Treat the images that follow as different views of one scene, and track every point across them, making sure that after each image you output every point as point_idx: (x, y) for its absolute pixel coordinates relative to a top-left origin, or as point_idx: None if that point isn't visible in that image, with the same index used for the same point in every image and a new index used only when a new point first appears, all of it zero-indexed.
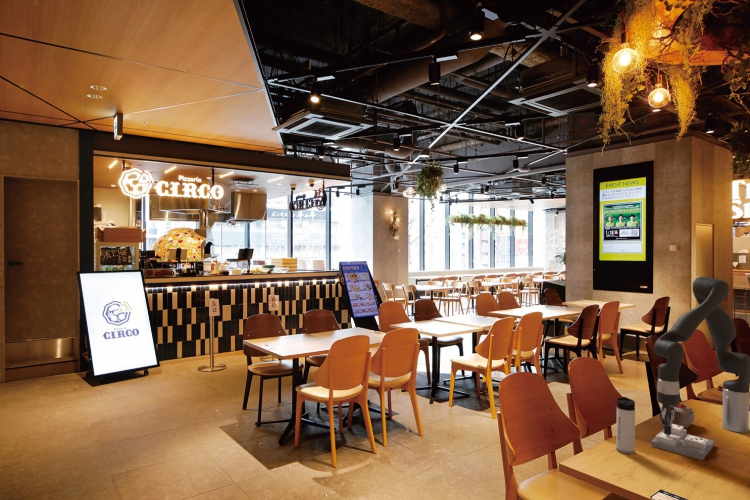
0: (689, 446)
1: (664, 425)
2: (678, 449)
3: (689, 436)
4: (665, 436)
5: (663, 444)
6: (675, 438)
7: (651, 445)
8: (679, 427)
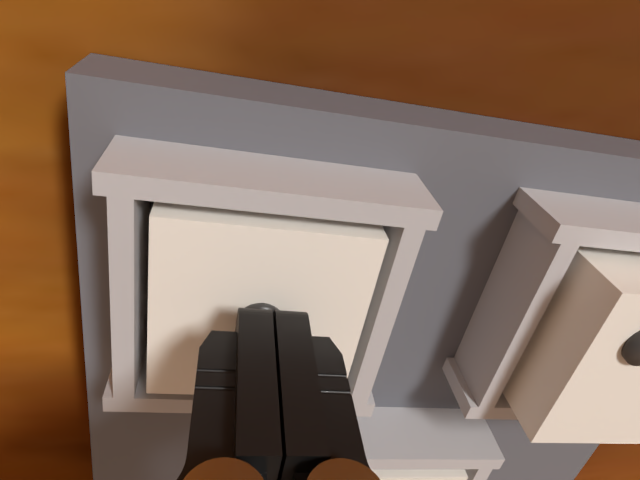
0: None
1: (237, 447)
2: (89, 380)
3: (426, 478)
4: (214, 302)
5: (78, 246)
6: None
7: (87, 58)
8: (626, 422)
